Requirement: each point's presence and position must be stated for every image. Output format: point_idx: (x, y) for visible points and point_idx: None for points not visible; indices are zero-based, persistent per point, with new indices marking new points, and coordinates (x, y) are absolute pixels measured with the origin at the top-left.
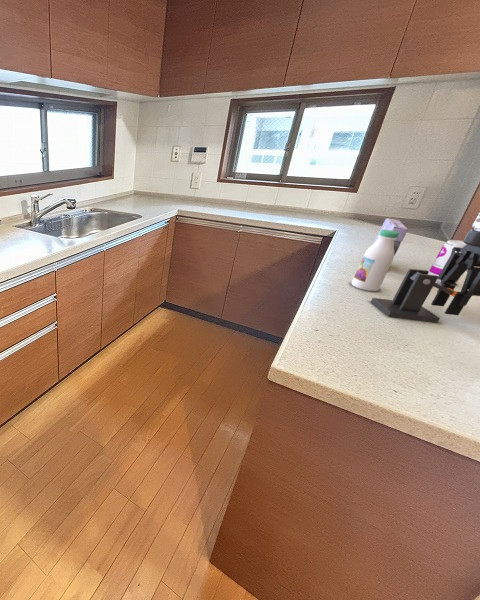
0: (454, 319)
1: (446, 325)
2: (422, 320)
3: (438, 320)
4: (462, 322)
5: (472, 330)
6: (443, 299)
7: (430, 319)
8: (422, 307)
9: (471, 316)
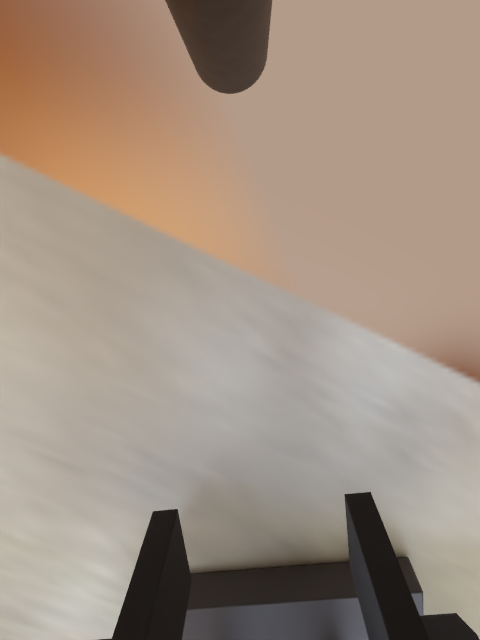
0: (274, 408)
1: (431, 518)
2: None
3: (416, 577)
4: (316, 377)
5: (464, 382)
6: (167, 598)
7: None
8: (228, 619)
9: (120, 226)
